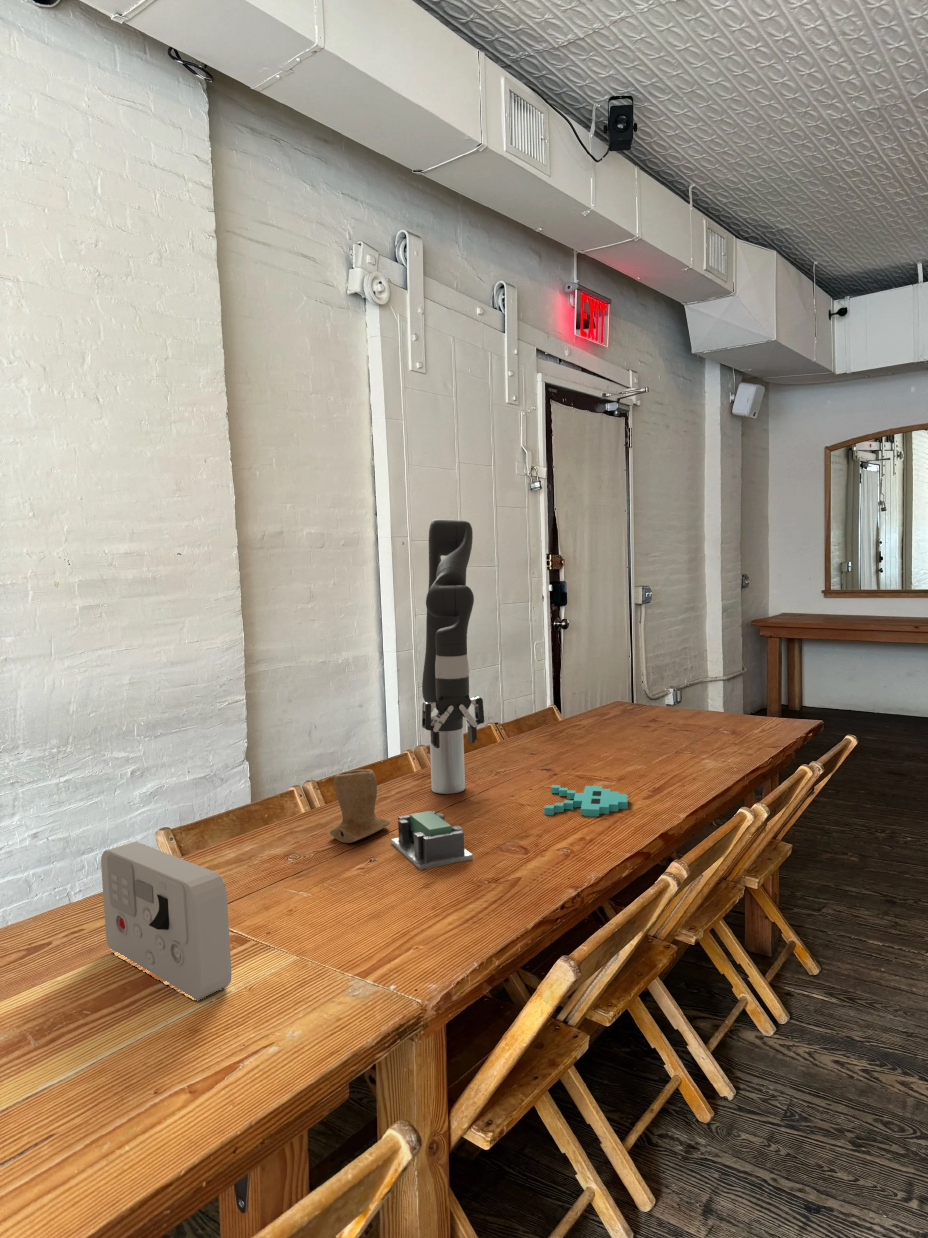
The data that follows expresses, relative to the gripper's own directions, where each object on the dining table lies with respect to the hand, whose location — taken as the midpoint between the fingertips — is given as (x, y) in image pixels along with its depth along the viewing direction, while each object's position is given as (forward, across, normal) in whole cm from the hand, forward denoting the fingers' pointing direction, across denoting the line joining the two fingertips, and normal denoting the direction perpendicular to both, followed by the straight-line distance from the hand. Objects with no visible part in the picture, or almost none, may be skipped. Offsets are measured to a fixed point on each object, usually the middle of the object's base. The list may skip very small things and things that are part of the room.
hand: (454, 745), depth 189 cm
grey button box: (+21, +65, +36) cm, 77 cm away
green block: (+17, +8, +6) cm, 20 cm away
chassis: (+21, +8, +6) cm, 24 cm away
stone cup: (+22, +20, -13) cm, 32 cm away
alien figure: (+23, -39, -8) cm, 46 cm away
